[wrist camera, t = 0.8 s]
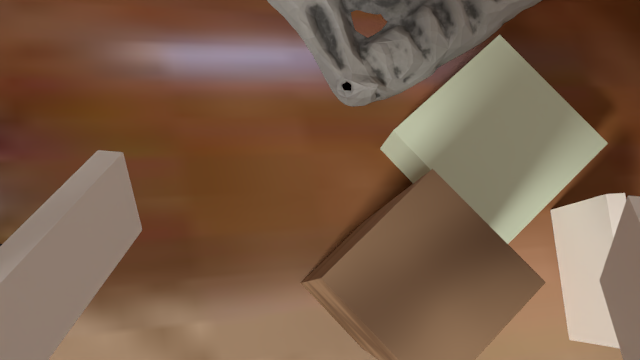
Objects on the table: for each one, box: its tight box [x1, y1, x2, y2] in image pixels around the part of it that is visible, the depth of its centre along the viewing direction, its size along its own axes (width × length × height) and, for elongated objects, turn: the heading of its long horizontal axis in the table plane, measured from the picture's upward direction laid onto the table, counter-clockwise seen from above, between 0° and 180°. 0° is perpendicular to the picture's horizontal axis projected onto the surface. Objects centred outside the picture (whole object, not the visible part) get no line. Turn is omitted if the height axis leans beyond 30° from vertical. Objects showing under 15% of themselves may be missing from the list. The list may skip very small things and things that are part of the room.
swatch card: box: [550, 193, 626, 348], centre depth 37 cm, size 2×9×7 cm, turn 4°
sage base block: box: [380, 35, 608, 244], centre depth 39 cm, size 10×10×5 cm
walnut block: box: [301, 169, 545, 360], centre depth 30 cm, size 6×6×18 cm
